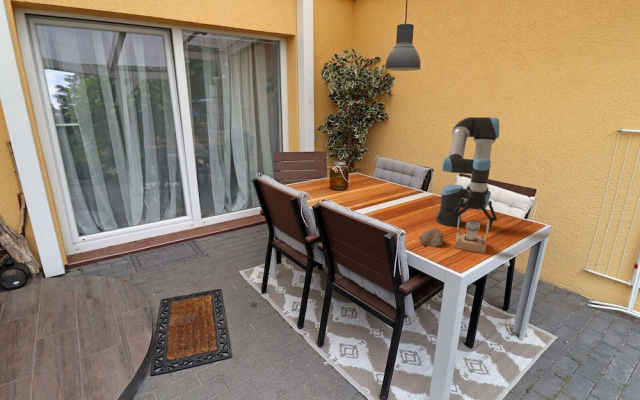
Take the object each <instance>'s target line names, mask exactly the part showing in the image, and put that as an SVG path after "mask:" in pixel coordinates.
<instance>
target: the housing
mask: <svg viewBox="0 0 640 400" xmlns="http://www.w3.org/2000/svg"><path fill="white" fill-rule="evenodd" d="M455 236H456V238H455V241H454V242H455V245H454V249H457V250H463V251H469V252H475V253H481V254H485V253H486V250H487V249H486V248H487V237H486V236H483V235H477V237H476V242H473V241H467V240H466V233H462V232H456V235H455Z"/></svg>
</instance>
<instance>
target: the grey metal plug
mask: <svg viewBox="0 0 640 400" xmlns="http://www.w3.org/2000/svg"><path fill="white" fill-rule="evenodd" d="M465 222H466V223H465V228H466V233H465V234H466V240H467V241H473V242H476V237H477V236H478V231H479V230H480V228H481V227H480V226H481V222H479V221H477V220H473V219H469V220H466V221H465Z"/></svg>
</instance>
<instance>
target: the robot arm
mask: <svg viewBox="0 0 640 400" xmlns="http://www.w3.org/2000/svg"><path fill="white" fill-rule="evenodd" d="M451 136H452V139H451V144H450V149H449V153H448V156H447V157H444V158H443V159H442V160H443V161H442V168H441V170H442V172H444V173H455V174H466V175H467V174H468V175H471V176H470V183H469V184H468V185H467V187H466V188H464V186H463V185H462V184H461V185H459V184H450V185H449V184H448V185H446V186H444V187H442V191H441V197H440V198H441V199H440V205H439V210H438V212H437V215H436V216H435V222H437V223H438V224H440V225H443V226H449V227H456V230H459V229H460V226H461V225H462V222H463V219H462V214H464V213H465V212H466V211H467V210H468V209H469V210H476V211H477V210H479V211H482V212H483V214H484V215H485V216H486V217H487V223H486V229H485V230H486V231H485V232H486V233H485V234H486V235H487V234H489V229H490V228H492V226H493V225H492V224H493V222H495V221H496V222H497V220H498V218H497V216H496V213H495V211H494V207H493V201H492V200H490V198H491V194H492V193H491V191H490V190H489V187H488V185H489V176H490V171H491V164H492V163H491V155H492V153H491V152H492V147H493V144H494V143H495V142H496V140H497V139H499V137H500V120H499V118H498V117H491V116H490V117H487V116H486V117H485V116H484V117H483V116H482V117H478V116H477V117H476V116H475V117H473V116H470V117H466V118H462V119H461V120H459V121H458V122H457V123H456V124H455V126H453V128H452V132H451ZM468 138H473V142H474V143H475V148H474V155H473V159H471V158H464V157H465V151H466V145H467V140H468ZM488 207H489V210H490V212H491V214H490V213H489V211H488V210H487V208H488ZM461 208H462V209H461Z"/></svg>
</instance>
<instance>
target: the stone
mask: <svg viewBox="0 0 640 400" xmlns="http://www.w3.org/2000/svg"><path fill="white" fill-rule="evenodd" d="M443 236H444V235H443V232H441V231H440V229H438V228H429V229H428V230H426V231H424V232H422V233H421V234H420V235H419V238H418V239H419V242H420V243H421V244H422V245H424V246H425V247H428V246H430V247H435V248H436V247H441V246H442V245H443V244H444V237H443Z"/></svg>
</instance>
